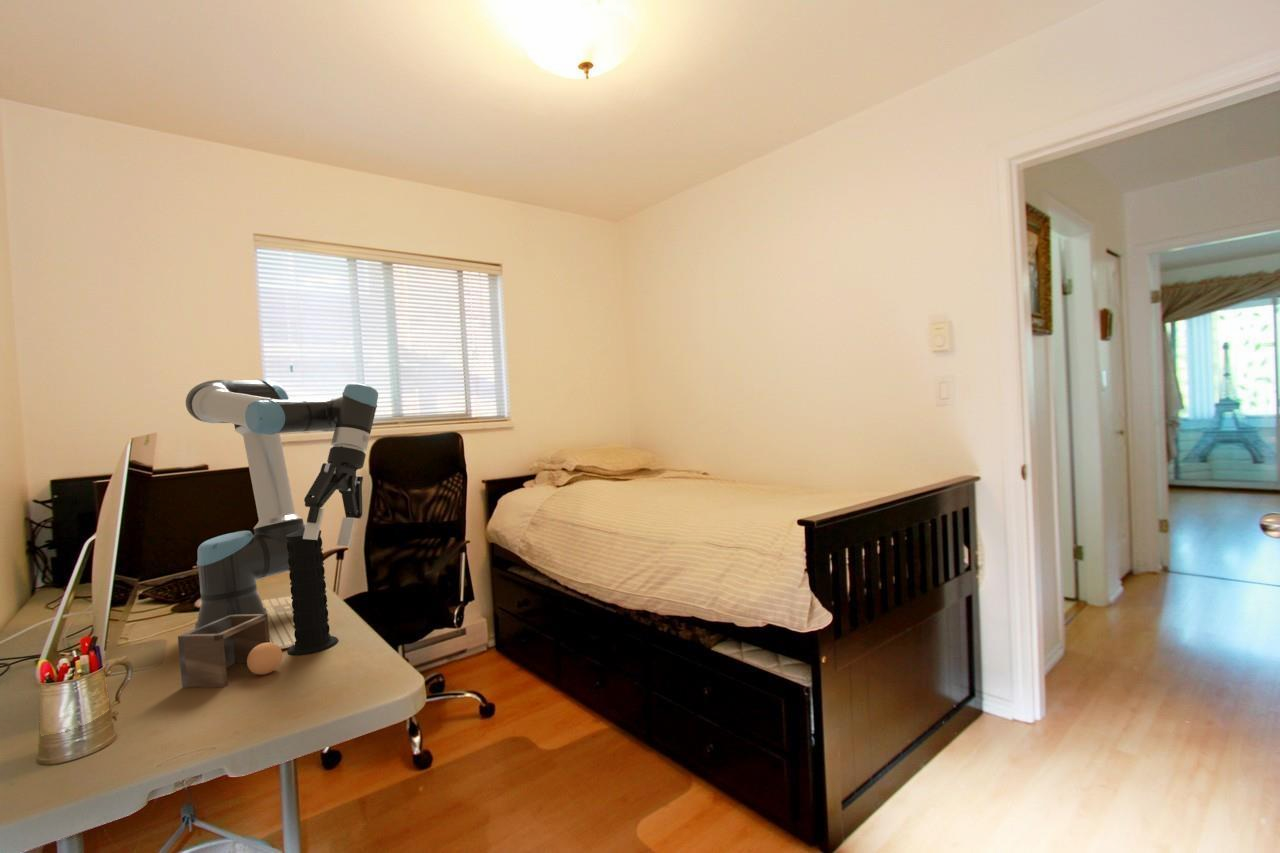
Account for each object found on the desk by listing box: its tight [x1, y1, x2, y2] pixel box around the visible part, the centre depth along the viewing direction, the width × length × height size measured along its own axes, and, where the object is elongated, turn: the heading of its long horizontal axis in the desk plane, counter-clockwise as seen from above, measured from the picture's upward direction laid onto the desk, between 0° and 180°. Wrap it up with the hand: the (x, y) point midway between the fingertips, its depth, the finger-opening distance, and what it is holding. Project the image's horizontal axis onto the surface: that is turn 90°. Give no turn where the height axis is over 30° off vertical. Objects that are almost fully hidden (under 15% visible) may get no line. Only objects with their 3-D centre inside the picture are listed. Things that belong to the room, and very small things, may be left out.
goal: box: [177, 613, 271, 688], centre depth 118 cm, size 12×9×10 cm
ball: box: [246, 642, 283, 676], centre depth 117 cm, size 6×6×6 cm
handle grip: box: [286, 529, 339, 656], centre depth 130 cm, size 10×26×10 cm
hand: (327, 542), depth 128 cm, fingers open, 13 cm apart
